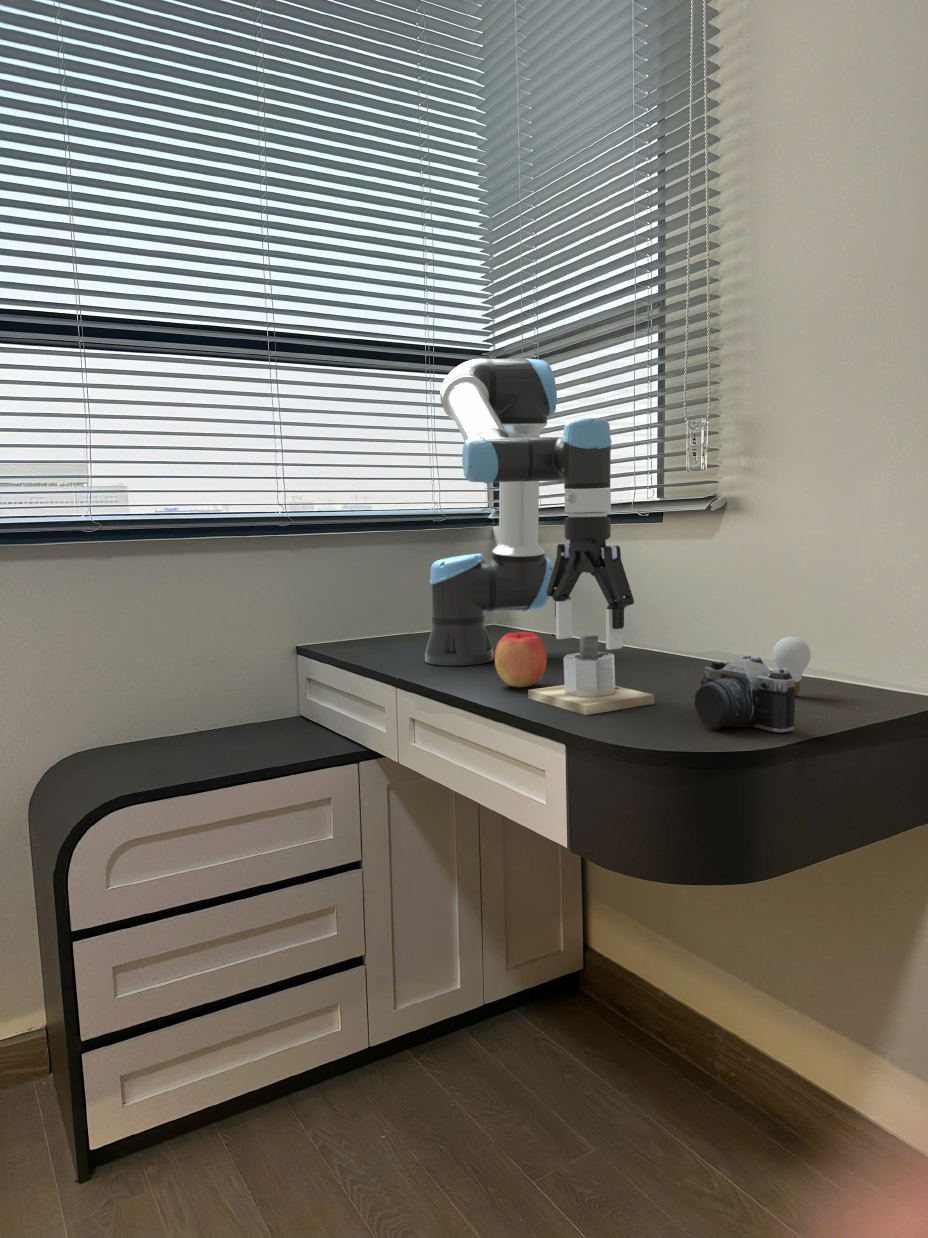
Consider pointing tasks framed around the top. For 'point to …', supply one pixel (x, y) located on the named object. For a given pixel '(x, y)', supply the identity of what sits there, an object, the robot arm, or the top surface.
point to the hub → (589, 675)
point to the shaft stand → (590, 704)
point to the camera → (747, 696)
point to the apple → (520, 659)
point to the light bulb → (792, 657)
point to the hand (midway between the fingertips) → (588, 643)
